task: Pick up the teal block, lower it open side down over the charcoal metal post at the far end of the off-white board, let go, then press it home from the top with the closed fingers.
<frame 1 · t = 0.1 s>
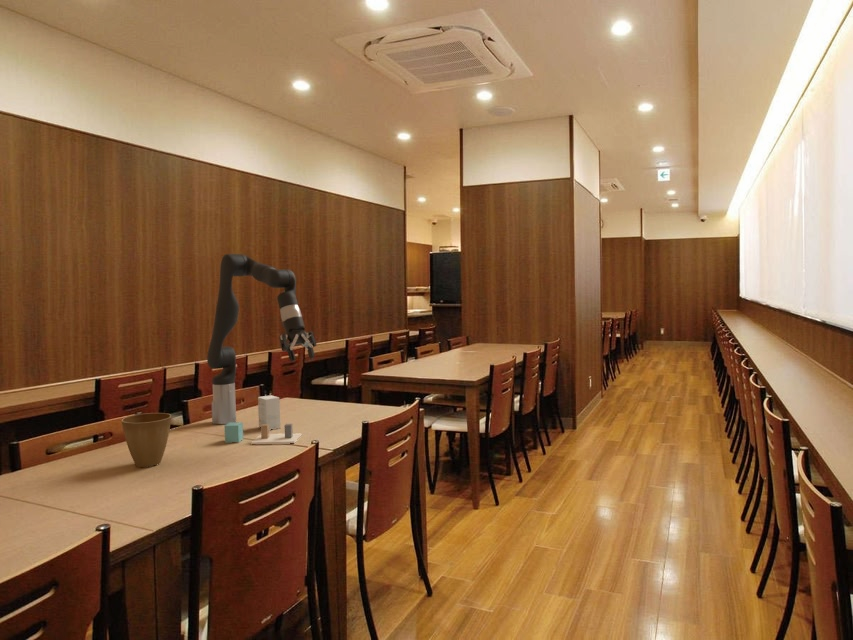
hand: (302, 359, 211), 31 cm above the table, tool tilted 20°, fingers open, 8 cm apart
teal block: (234, 441, 217), on the table
post board: (288, 439, 217), on the table
small box: (269, 428, 237), on the table
plant pot: (149, 465, 189), on the table
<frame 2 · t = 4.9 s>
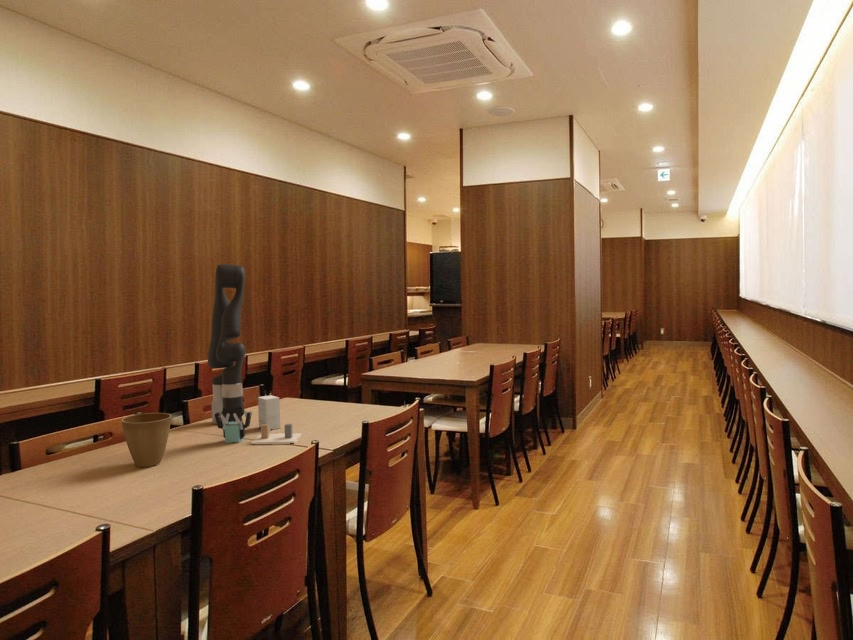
hand: (234, 438, 217), 1 cm above the table, tool pointing down, fingers closed on teal block, 5 cm apart
teal block: (234, 440, 217), on the table, touching gripper
everything else where it was.
when the fingers open (3 cm above the table, at t = 12.7 s): teal block stays where it is, resting on post board.
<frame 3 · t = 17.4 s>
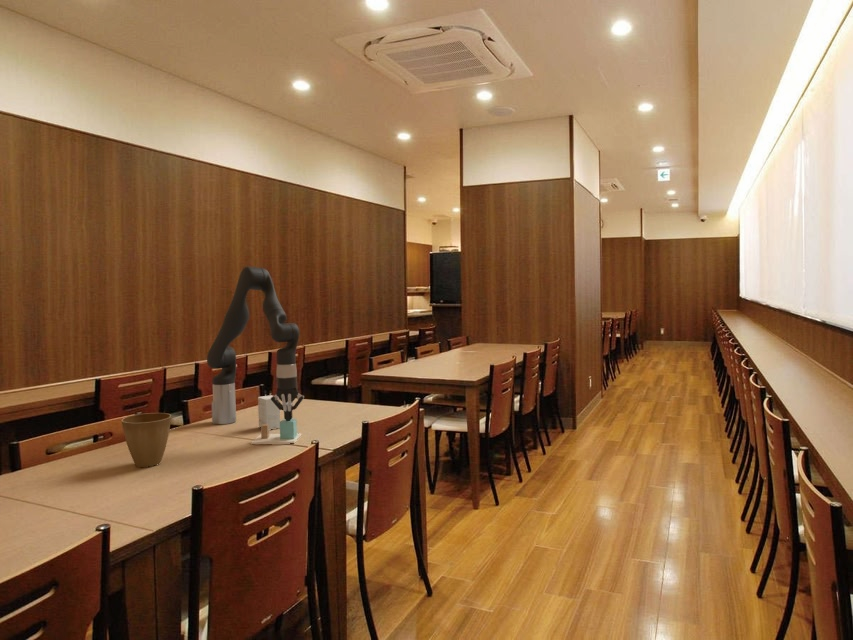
hand: (288, 420, 217), 8 cm above the table, tool pointing down, fingers closed
teal block: (288, 437, 217), point 1 cm above the table, touching gripper, post board
everything else where it was.
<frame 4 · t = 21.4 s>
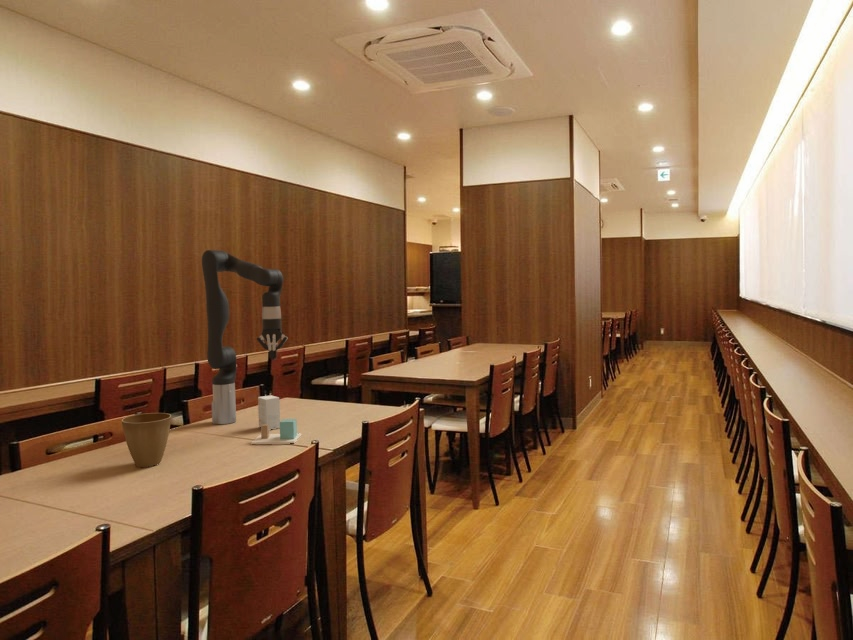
hand: (273, 359, 234), 29 cm above the table, tool pointing down, fingers closed
teal block: (288, 437, 217), point 1 cm above the table, touching post board
everything else where it was.
at the end: teal block 0.1 cm from the post board (horizontally); teal block point 1.0 cm above the table; teal block tilted 0° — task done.
